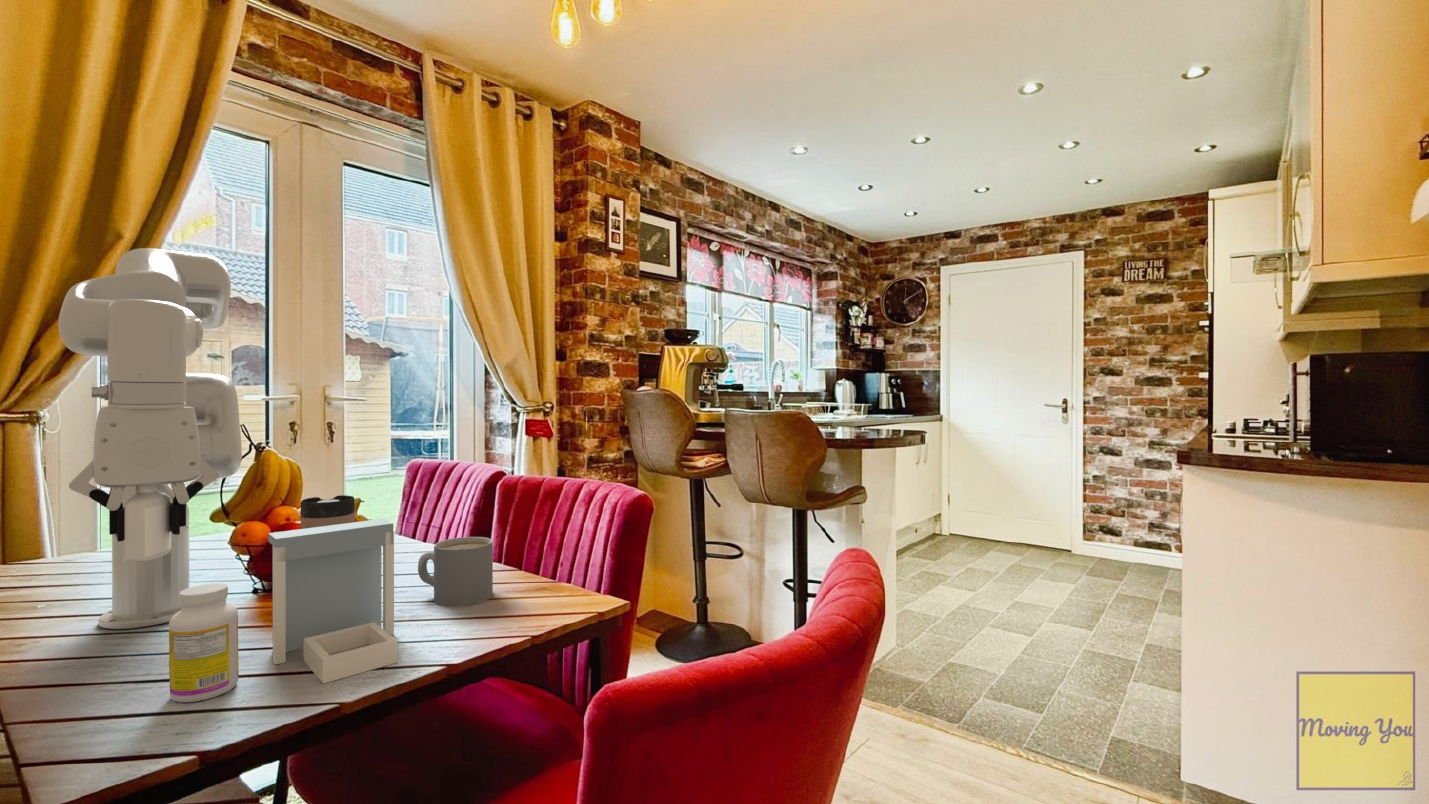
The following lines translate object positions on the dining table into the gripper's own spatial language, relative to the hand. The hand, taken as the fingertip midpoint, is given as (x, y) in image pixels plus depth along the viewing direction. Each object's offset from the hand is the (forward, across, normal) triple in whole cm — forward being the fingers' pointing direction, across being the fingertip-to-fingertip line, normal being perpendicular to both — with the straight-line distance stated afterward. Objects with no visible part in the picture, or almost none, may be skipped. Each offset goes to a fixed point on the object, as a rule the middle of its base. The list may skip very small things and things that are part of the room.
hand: (148, 534), depth 81 cm
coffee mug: (+19, +42, +4) cm, 46 cm away
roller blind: (+18, +20, -6) cm, 28 cm away
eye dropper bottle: (+3, 0, 0) cm, 3 cm away
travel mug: (+19, +22, +6) cm, 30 cm away
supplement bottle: (+18, +4, -11) cm, 22 cm away
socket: (+18, +20, -14) cm, 30 cm away
